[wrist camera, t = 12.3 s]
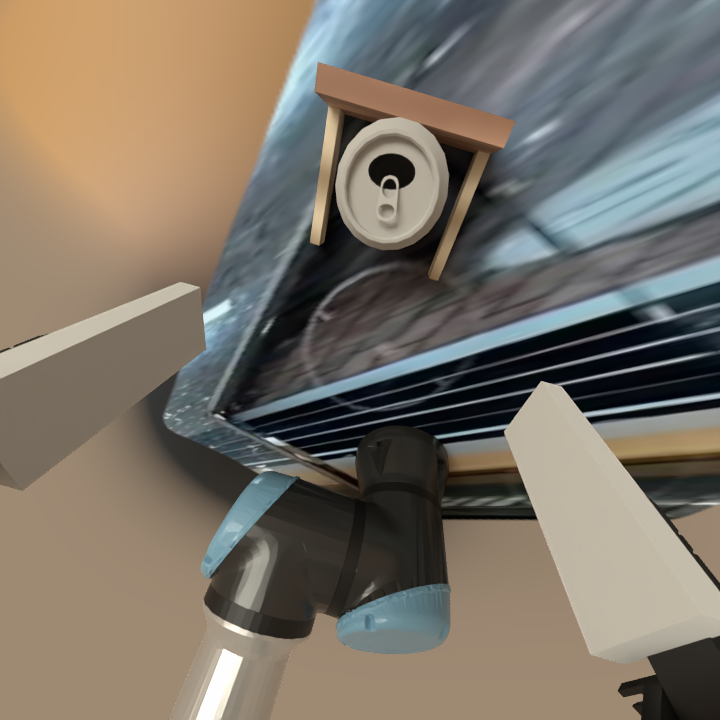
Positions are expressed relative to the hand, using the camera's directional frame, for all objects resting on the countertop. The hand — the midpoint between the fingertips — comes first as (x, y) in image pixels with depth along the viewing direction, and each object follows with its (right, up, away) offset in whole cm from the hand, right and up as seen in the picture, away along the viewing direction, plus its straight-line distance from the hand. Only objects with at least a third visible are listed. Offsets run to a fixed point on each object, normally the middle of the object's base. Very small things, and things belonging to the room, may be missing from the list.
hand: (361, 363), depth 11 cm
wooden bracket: (+3, +17, +16) cm, 24 cm away
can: (+4, +17, +16) cm, 24 cm away
